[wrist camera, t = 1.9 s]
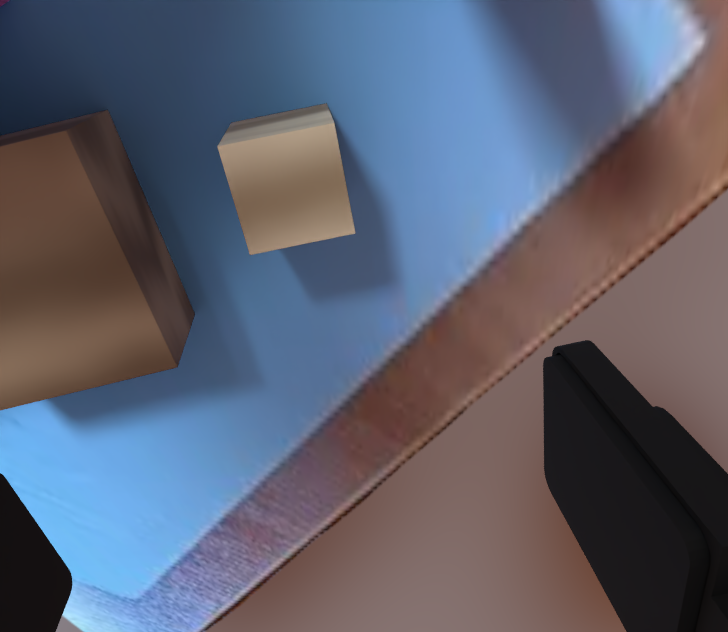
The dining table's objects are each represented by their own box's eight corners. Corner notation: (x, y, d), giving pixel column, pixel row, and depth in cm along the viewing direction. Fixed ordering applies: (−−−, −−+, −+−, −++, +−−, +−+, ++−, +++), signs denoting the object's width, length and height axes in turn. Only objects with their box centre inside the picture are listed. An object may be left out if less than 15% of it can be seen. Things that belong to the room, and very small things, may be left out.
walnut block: (-123, 165, 27) (-223, 200, 22) (109, 108, 27) (65, 130, 22) (4, 358, 33) (-49, 422, 28) (195, 312, 33) (177, 367, 28)
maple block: (231, 122, 28) (217, 146, 23) (326, 103, 28) (334, 122, 23) (257, 214, 30) (249, 255, 25) (344, 196, 30) (355, 233, 25)
